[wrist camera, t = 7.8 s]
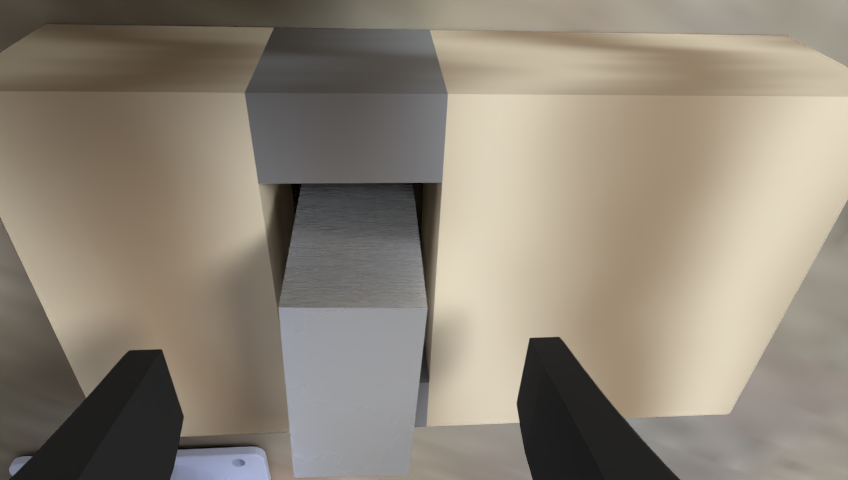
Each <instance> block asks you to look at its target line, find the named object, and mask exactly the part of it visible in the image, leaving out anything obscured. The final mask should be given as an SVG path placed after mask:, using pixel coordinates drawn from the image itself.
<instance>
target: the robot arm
mask: <svg viewBox="0 0 848 480" xmlns="http://www.w3.org/2000/svg"><path fill="white" fill-rule="evenodd" d="M516 404H517V410H518V416H519V422H520V428H521V433H522V439H523V444H524V450H525V454H526V457H527V461H528V464H529V468H530V471H531V475H532V478H533V480H680V479H679V478H678V477H677V476H676V475H675V474H674V473H673V472H672V471H671V470H670V469H669V468H668V467H667V466H666V465H665V464H664V463H663V461H662V460H661V459H660V458H659V457H658V456H657V455H656V454H655V453H654V452H653V451H652V450H651V449H650V447H649V446H648V445H647V444H646V443H645V442H644V441H643V440H642V439H641V437H640V436H639V435H638V434H637V433H636V432H635V431H634V429H633V428H632V427H631V426H630V425H629V424H628V422H627V421H626V420H625V419H624V418H623V416H622V415H621V414H620V413H619V412H618V411H617V409H616V408H615V407H614V406H613V405H612V403H611V402H610V401H609V400H608V399H607V397H606V396H605V395H604V394H603V392H602V391H601V390H600V389H599V387H598V386H597V385H596V383H595V382H594V381H593V380H592V378H591V377H590V376H589V374H588V373H587V372H586V371H585V369H584V368H583V367H582V365H581V364H580V363H579V361H578V360H577V359H576V357H575V356H574V355H573V353H572V352H571V351H570V349H569V348H568V347H567V345H566V344H565V343H564V341H563V340H562V339H561V338H560V337H538V338H530V339H529V344H528V349H527V353H526V358H525V363H524V368H523V373H522V378H521V383H520V388H519V393H518V398H517V403H516ZM183 419H184V415H183V412H182V409H181V406H180V403H179V400H178V397H177V394H176V391H175V388H174V385H173V381H172V378H171V375H170V372H169V369H168V366H167V363H166V360H165V357H164V354H163V351H162V349H151V350H129V351H128V352H127V353H126V354H125V355H124V356H123V357H122V358H121V359H120V360H119V361H118V363H117V364H116V365H115V366H114V367H113V368H112V369H111V370H110V372H109V373H108V374H107V375H106V376H105V377H104V378H103V380H102V381H101V382H100V383H99V384H98V385H97V386H96V388H95V389H94V390H93V391H92V392H91V393H90V394H89V395H88V397H87V398H86V399H85V400H84V401H83V402H82V403H81V404H80V406H79V407H78V408H77V409H76V410H75V411H74V412H73V413H72V415H71V416H70V417H69V418H68V419H67V420H66V421H65V422H64V423H63V424H62V425H61V426H60V427H59V429H58V430H57V431H56V432H55V433H54V434H53V435H52V436H51V437H50V438H49V439H48V440H47V441H46V443H45V444H44V445H43V446H42V447H41V448H40V449H39V450H38V451H37V452H36V453H35V454H34V455H33V456H22V457H17V458H15V459H14V460H13V462H12V464H11V465H10V467H9V472H10V474H11V475H12V477H11V478H10V479H9V480H271V477H270V472H269V467H268V462H267V457H266V453H265V452H264V450H262V449H261V448H259V447H253V446H249V447H226V448H203V449H180V450H178V446H179V441H180V435H181V430H182V425H183Z"/></svg>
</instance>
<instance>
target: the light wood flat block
mask: <svg viewBox="0 0 848 480" xmlns="http://www.w3.org/2000/svg"><path fill="white" fill-rule="evenodd" d="M296 183H423V203H422V226H421V256H422V265H423V273H424V282H425V290H426V299H427V307H428V310H427V319H426V327H425V336H424V345H423V354H422V363H421V372H420V381H419V389H418V398H417V407H416V416H415V425H414V427H427V426H451V425H475V424H499V423H520V422H519V416H518V410H517V404H516V403H517V398H518V393H519V388H520V383H521V378H522V373H523V368H524V363H525V358H526V353H527V349H528V344H529V339H530V338H538V337H560V338H561V339H562V340H563V341H564V343H565V344H566V345H567V347H568V348H569V349H570V351H571V352H572V353H573V355H574V356H575V357H576V359H577V360H578V361H579V363H580V364H581V365H582V367H583V368H584V369H585V371H586V372H587V373H588V374H589V376H590V377H591V378H592V380H593V381H594V382H595V383H596V385H597V386H598V387H599V389H600V390H601V391H602V392H603V394H604V395H605V396H606V397H607V399H608V400H609V401H610V402H611V403H612V405H613V406H614V407H615V408H616V409H617V411H618V412H619V413H620V414H621V415H622V416H623V418H643V417H667V416H691V415H715V414H730V412H731V410H732V408H733V406H734V405H735V403H736V401H737V399H738V397H739V396H740V394H741V392H742V390H743V388H744V386H745V385H746V383H747V381H748V379H749V377H750V376H751V374H752V372H753V370H754V368H755V367H756V365H757V363H758V361H759V359H760V357H761V356H762V354H763V352H764V350H765V348H766V347H767V345H768V343H769V341H770V339H771V338H772V336H773V334H774V332H775V330H776V328H777V327H778V325H779V323H780V321H781V319H782V318H783V316H784V314H785V312H786V310H787V308H788V307H789V305H790V303H791V301H792V299H793V298H794V296H795V294H796V292H797V290H798V289H799V287H800V285H801V283H802V281H803V279H804V278H805V276H806V274H807V272H808V270H809V269H810V267H811V265H812V263H813V261H814V260H815V258H816V256H817V254H818V252H819V250H820V249H821V247H822V245H823V243H824V241H825V240H826V238H827V236H828V234H829V232H830V230H831V229H832V227H833V225H834V223H835V221H836V220H837V218H838V216H839V214H840V212H841V211H842V209H843V207H844V205H845V203H846V201H847V200H848V67H846V66H844V65H842V64H840V63H838V62H836V61H834V60H833V59H831V58H829V57H827V56H825V55H823V54H821V53H819V52H817V51H815V50H813V49H812V48H810V47H808V46H806V45H804V44H802V43H800V42H798V41H796V40H794V39H793V38H791V37H789V36H770V35H707V34H644V33H581V32H518V31H455V30H391V29H328V28H265V27H202V26H139V25H76V24H44V25H42V26H41V27H39V28H38V29H36V30H35V31H33V32H32V33H30V34H28V35H27V36H25V37H24V38H22V39H21V40H19V41H17V42H16V43H14V44H13V45H11V46H10V47H8V48H7V49H5V50H3V51H2V52H0V217H1V220H2V222H3V224H4V226H5V228H6V230H7V232H8V234H9V236H10V239H11V241H12V243H13V245H14V247H15V249H16V251H17V253H18V255H19V258H20V260H21V262H22V264H23V266H24V268H25V270H26V272H27V275H28V277H29V279H30V281H31V283H32V285H33V287H34V289H35V291H36V294H37V296H38V298H39V300H40V302H41V304H42V306H43V308H44V310H45V313H46V315H47V317H48V319H49V321H50V323H51V325H52V327H53V330H54V332H55V334H56V336H57V338H58V340H59V342H60V344H61V346H62V349H63V351H64V353H65V355H66V357H67V359H68V361H69V363H70V365H71V368H72V370H73V372H74V374H75V376H76V378H77V380H78V382H79V384H80V387H81V389H82V391H83V393H84V395H85V397H86V398H87V397H88V395H89V394H90V393H91V392H92V391H93V390H94V389H95V388H96V386H97V385H98V384H99V383H100V382H101V381H102V380H103V378H104V377H105V376H106V375H107V374H108V373H109V372H110V370H111V369H112V368H113V367H114V366H115V365H116V364H117V363H118V361H119V360H120V359H121V358H122V357H123V356H124V355H125V354H126V353H127V352H128V351H129V350H151V349H162V351H163V354H164V357H165V360H166V363H167V366H168V369H169V372H170V375H171V378H172V381H173V385H174V388H175V391H176V394H177V397H178V400H179V403H180V406H181V409H182V412H183V415H184V419H183V425H182V430H181V435H180V437H187V436H211V435H235V434H259V433H283V432H290V428H289V417H288V406H287V395H286V385H285V374H284V363H283V352H282V341H281V330H280V319H279V308H278V307H279V302H280V296H281V291H282V286H283V280H284V275H285V270H286V264H287V259H288V253H289V248H290V243H291V237H292V232H293V226H294V221H295V211H294V202H293V193H292V184H296Z"/></svg>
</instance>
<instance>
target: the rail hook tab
mask: <svg viewBox="0 0 848 480" xmlns="http://www.w3.org/2000/svg"><path fill="white" fill-rule="evenodd" d="M278 308H279V319H280V330H281V341H282V352H283V363H284V374H285V385H286V395H287V406H288V417H289V428H290V439H291V450H292V461H293V472H294V478H303V477H345V476H387V475H409V469H410V460H411V451H412V443H413V434H414V425H415V416H416V407H417V398H418V389H419V381H420V372H421V363H422V354H423V345H424V336H425V327H426V319H427V310H428V307H427V299H426V290H425V282H424V273H423V265H422V256H421V248H420V239H419V231H418V222H417V214H416V205H415V197H414V188H413V183H301V189H300V194H299V199H298V205H297V210H296V216H295V221H294V226H293V232H292V237H291V243H290V248H289V253H288V259H287V264H286V270H285V275H284V280H283V286H282V291H281V296H280V302H279V307H278Z"/></svg>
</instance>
